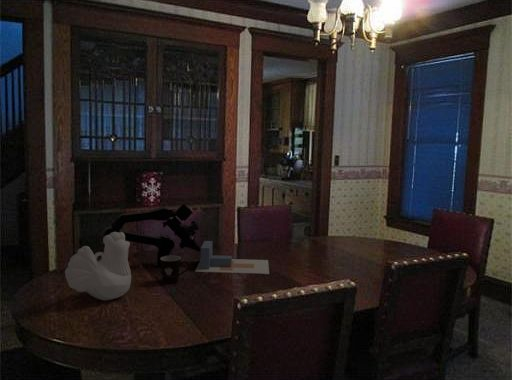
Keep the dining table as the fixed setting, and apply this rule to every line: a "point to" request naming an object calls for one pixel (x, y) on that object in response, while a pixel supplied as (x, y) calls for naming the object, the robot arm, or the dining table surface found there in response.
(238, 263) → the t mat
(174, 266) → the coffee mug
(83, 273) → the decorative rooster
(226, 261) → the t block
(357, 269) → the dining table surface
